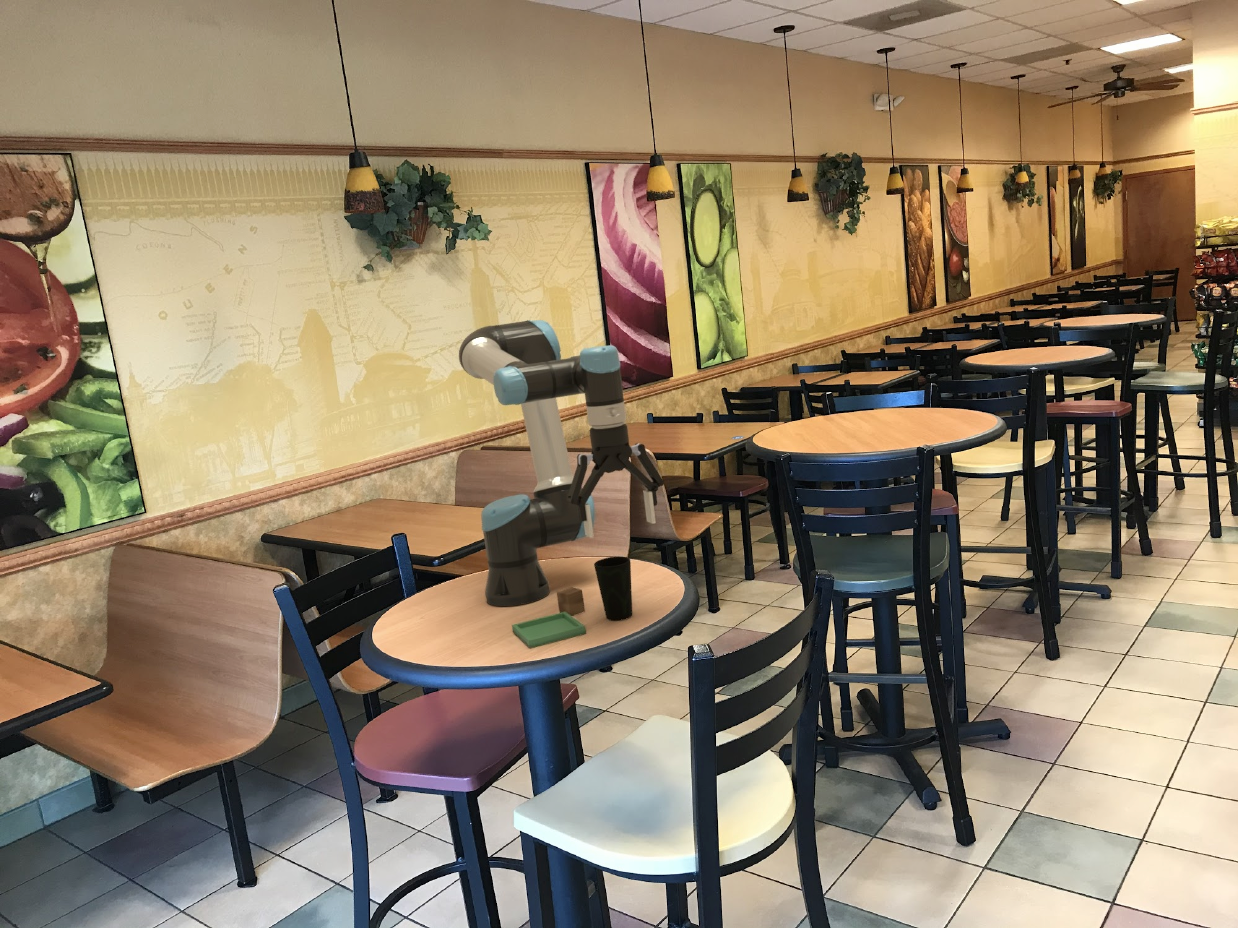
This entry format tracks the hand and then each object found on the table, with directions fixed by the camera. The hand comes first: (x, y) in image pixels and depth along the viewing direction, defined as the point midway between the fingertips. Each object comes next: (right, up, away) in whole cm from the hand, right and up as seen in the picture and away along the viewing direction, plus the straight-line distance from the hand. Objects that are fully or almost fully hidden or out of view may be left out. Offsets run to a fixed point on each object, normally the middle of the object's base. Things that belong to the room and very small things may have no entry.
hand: (620, 529), depth 188 cm
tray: (-15, -22, +5) cm, 27 cm away
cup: (0, -19, +10) cm, 22 cm away
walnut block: (-11, -19, +16) cm, 27 cm away
